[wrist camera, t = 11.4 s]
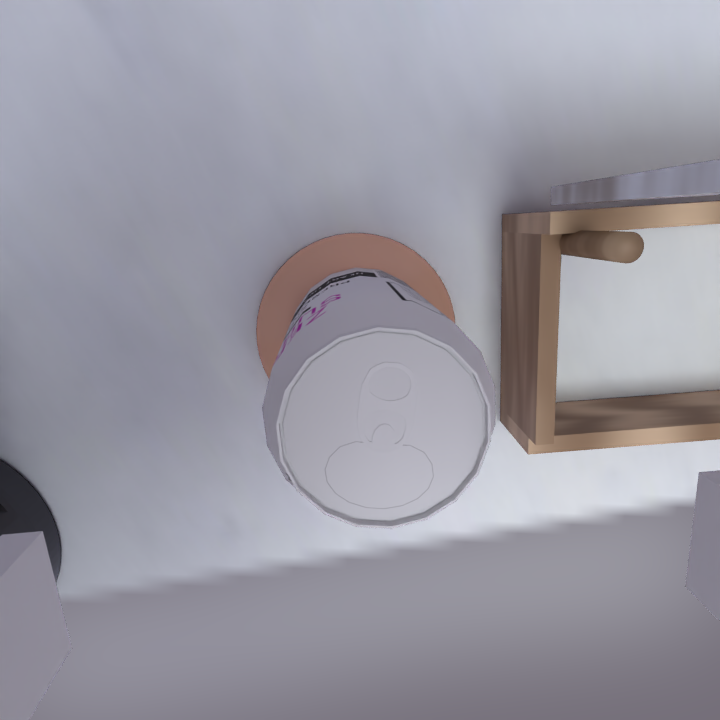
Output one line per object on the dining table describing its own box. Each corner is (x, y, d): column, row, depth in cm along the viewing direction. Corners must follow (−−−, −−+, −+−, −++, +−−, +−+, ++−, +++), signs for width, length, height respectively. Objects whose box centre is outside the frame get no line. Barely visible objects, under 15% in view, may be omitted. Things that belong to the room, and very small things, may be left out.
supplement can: (419, 404, 32) (489, 550, 18) (287, 394, 32) (250, 536, 17) (436, 274, 30) (531, 320, 16) (296, 260, 30) (262, 296, 15)
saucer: (268, 431, 33) (267, 435, 33) (246, 239, 30) (245, 240, 29) (454, 417, 33) (456, 420, 33) (451, 226, 30) (454, 226, 30)
